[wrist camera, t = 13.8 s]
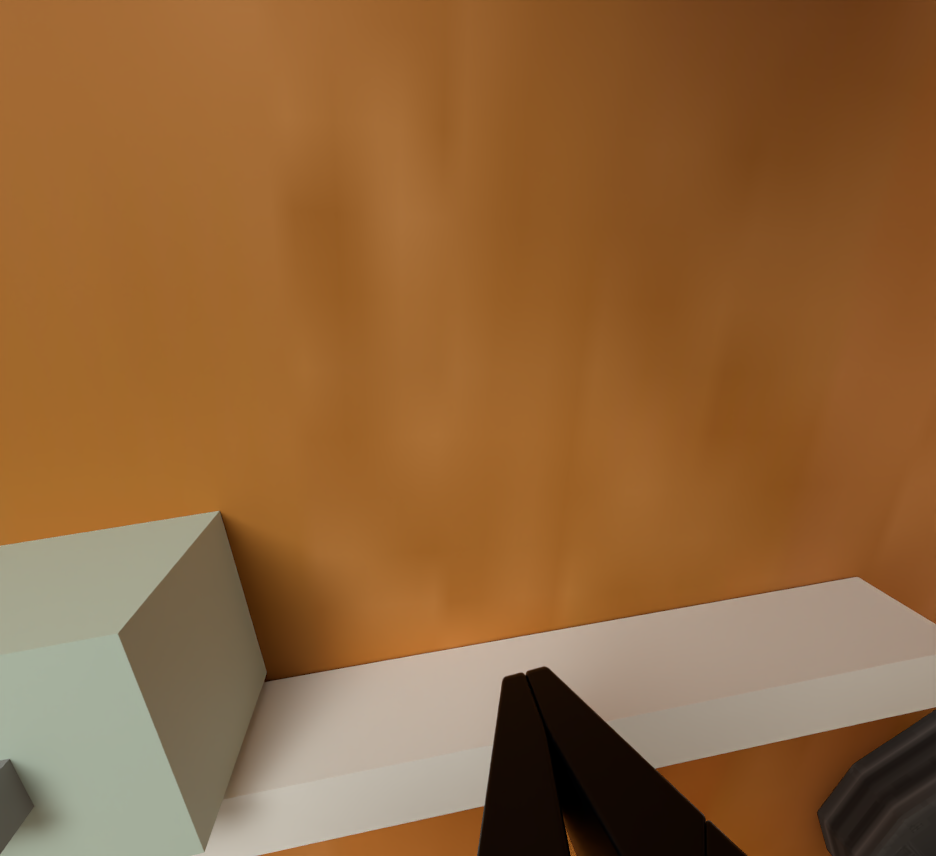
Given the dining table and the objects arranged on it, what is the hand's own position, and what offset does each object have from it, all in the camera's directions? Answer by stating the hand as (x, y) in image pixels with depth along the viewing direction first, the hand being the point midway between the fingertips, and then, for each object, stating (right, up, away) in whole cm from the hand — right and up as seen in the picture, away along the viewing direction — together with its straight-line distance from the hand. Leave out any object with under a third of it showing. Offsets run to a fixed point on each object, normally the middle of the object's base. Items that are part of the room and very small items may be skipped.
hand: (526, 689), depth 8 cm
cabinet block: (-12, -1, +5) cm, 12 cm away
